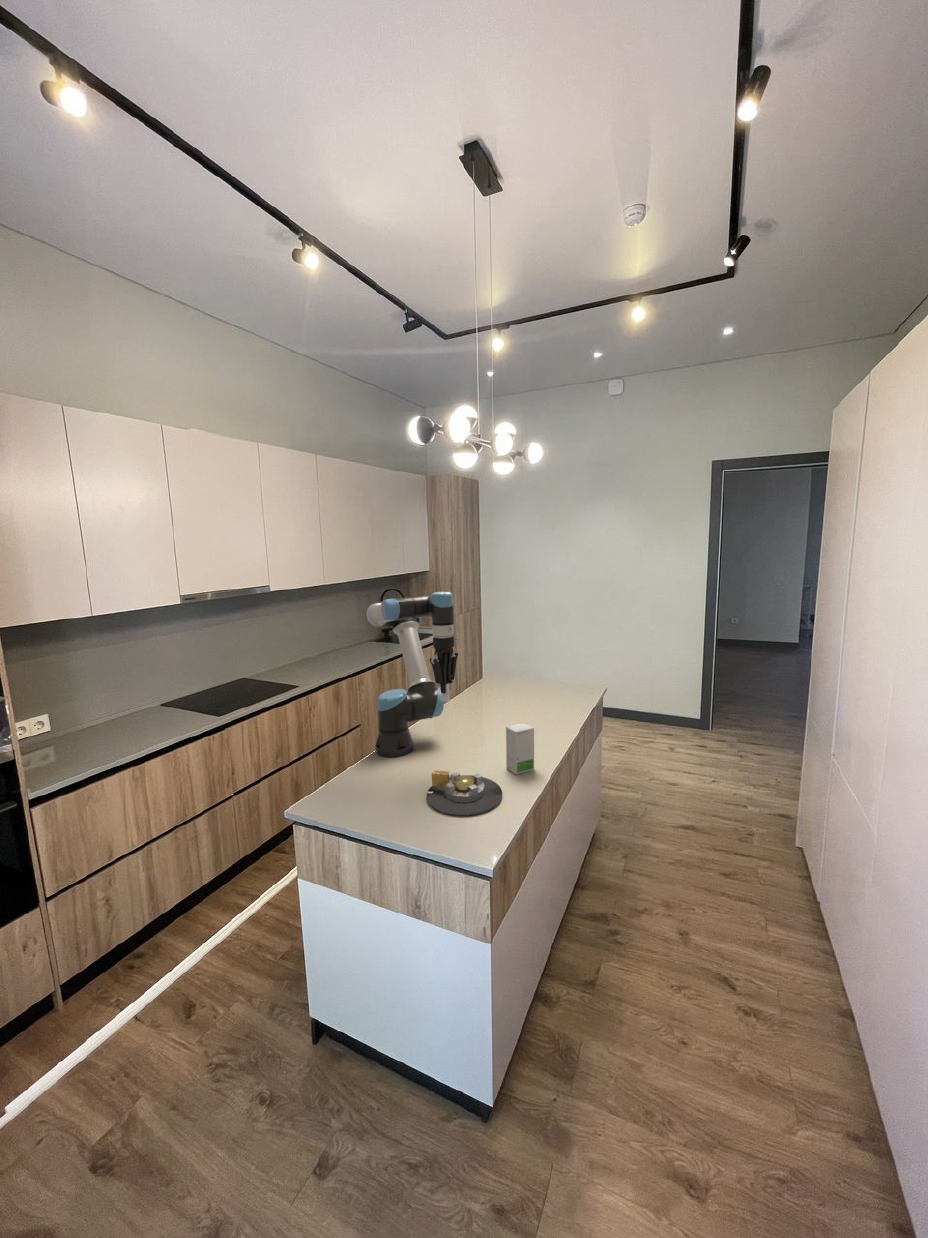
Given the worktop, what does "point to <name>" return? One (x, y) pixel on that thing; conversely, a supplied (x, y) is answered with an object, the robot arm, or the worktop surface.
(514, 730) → the skincare box
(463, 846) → the worktop surface
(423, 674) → the robot arm
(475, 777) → the ring nut
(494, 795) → the bowl
